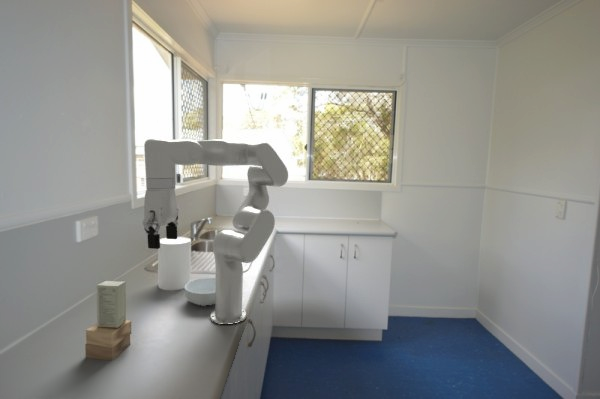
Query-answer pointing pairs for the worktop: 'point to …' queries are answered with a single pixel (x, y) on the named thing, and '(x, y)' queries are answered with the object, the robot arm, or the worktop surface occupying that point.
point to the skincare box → (111, 303)
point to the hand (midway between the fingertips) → (163, 243)
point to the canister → (174, 263)
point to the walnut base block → (106, 350)
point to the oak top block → (107, 334)
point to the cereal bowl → (201, 291)
